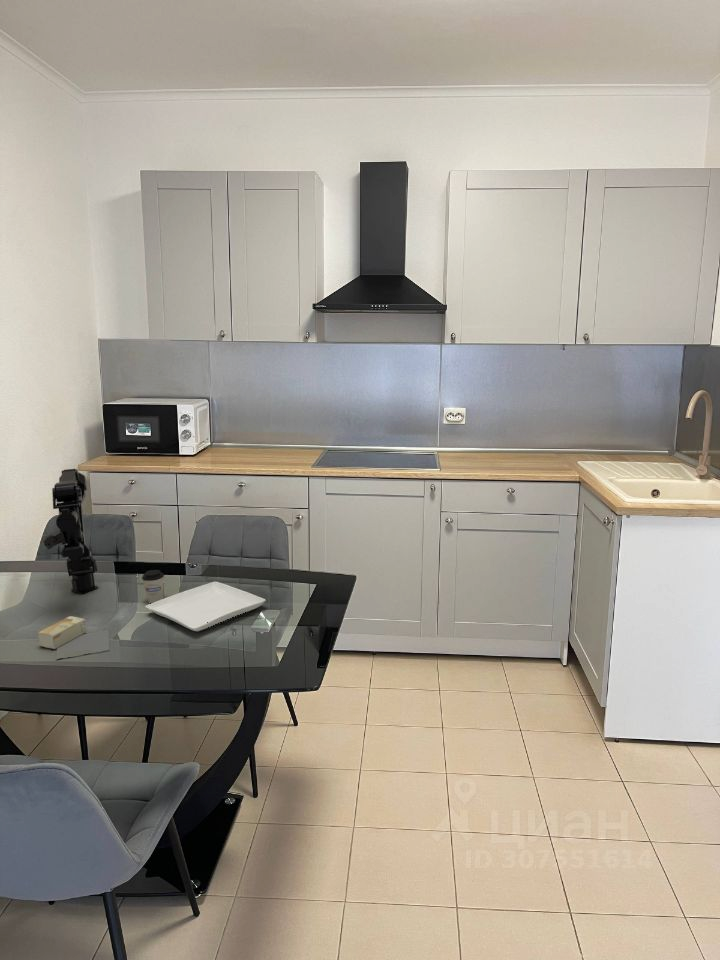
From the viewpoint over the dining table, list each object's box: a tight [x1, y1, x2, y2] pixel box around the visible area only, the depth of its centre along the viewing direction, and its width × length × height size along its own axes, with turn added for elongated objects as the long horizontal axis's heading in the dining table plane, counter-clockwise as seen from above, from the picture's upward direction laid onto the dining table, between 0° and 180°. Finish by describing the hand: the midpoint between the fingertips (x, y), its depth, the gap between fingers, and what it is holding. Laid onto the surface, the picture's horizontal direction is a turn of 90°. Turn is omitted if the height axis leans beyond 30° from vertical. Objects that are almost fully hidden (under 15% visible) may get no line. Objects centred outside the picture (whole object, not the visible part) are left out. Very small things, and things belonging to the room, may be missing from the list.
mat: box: [56, 629, 110, 653], centre depth 210 cm, size 14×14×1 cm
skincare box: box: [37, 615, 87, 650], centre depth 213 cm, size 6×4×12 cm
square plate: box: [145, 581, 267, 632], centre depth 230 cm, size 27×27×4 cm
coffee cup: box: [141, 569, 165, 604], centre depth 238 cm, size 7×7×10 cm
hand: (76, 569), depth 234 cm, fingers closed
